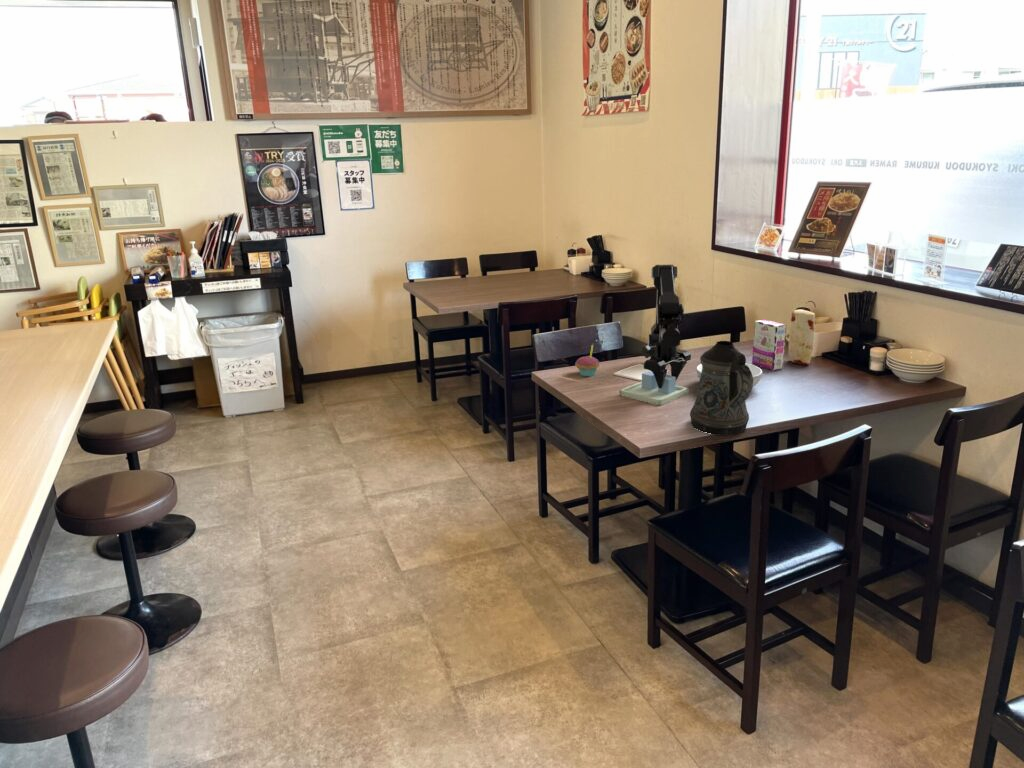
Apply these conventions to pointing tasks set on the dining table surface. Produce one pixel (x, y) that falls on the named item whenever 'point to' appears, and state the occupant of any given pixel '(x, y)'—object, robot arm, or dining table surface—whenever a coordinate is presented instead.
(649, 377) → the block
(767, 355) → the candy bar box
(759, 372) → the serving bowl
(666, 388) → the block
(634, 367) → the dish
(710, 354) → the beer stein
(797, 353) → the food model
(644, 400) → the tray
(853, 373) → the dining table surface
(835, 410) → the dining table surface
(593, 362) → the cupcake
